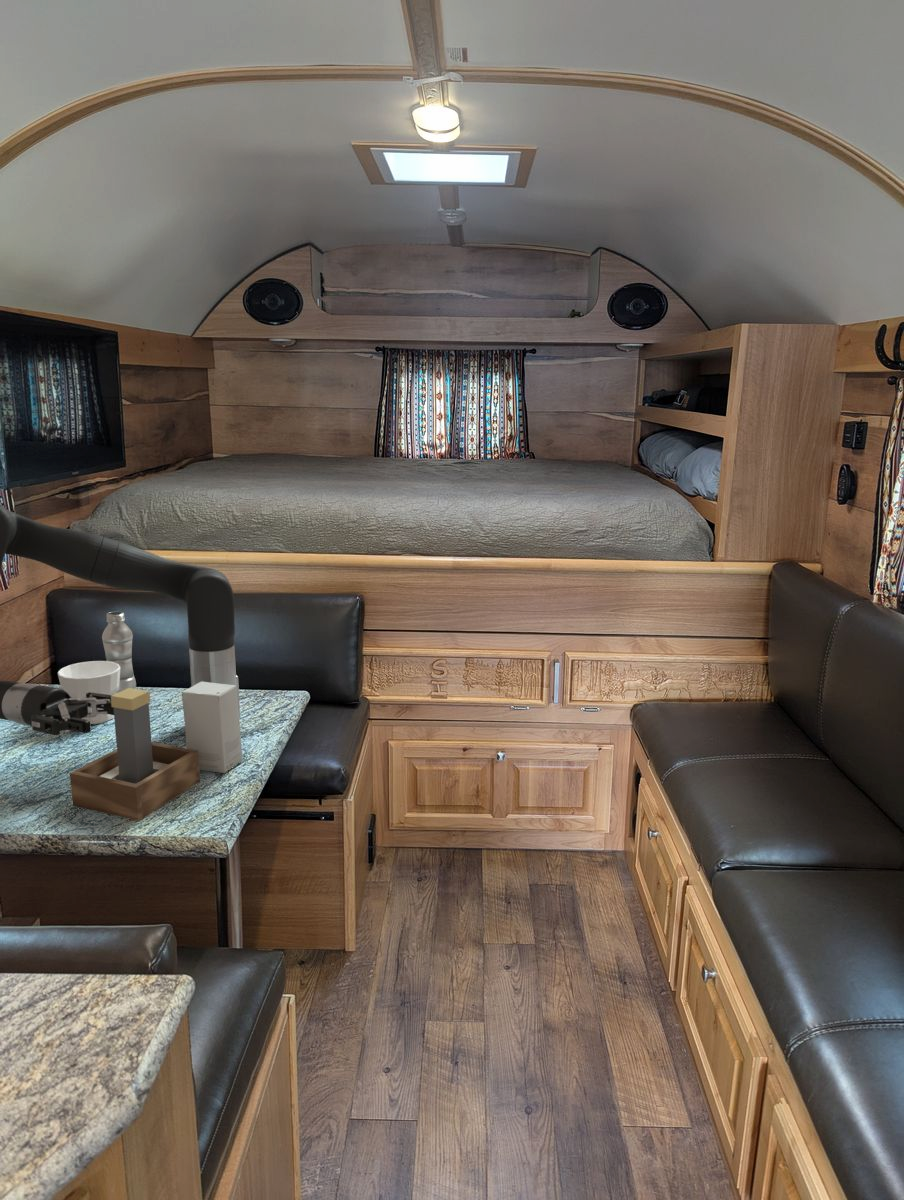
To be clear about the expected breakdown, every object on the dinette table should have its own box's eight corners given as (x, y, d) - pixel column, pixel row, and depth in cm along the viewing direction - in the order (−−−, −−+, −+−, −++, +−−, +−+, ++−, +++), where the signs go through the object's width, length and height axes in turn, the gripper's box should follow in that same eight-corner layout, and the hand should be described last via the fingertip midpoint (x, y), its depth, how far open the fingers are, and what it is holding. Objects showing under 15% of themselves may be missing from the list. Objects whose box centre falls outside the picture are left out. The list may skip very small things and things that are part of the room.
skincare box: (243, 761, 161) (239, 684, 158) (223, 775, 155) (219, 696, 152) (206, 755, 164) (202, 679, 160) (185, 768, 158) (180, 690, 154)
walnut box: (138, 769, 157) (136, 739, 156) (200, 781, 152) (198, 751, 151) (72, 805, 143) (69, 773, 141) (138, 821, 138) (136, 787, 136)
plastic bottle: (105, 693, 197) (98, 611, 192) (136, 690, 200) (130, 609, 195) (106, 702, 191) (99, 618, 187) (138, 699, 194) (131, 615, 189)
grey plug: (136, 783, 150) (129, 687, 146) (156, 787, 149) (149, 691, 145) (118, 793, 146) (110, 695, 142) (139, 797, 145) (131, 699, 141)
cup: (53, 716, 182) (49, 668, 180) (111, 703, 191) (107, 657, 188) (73, 733, 174) (68, 682, 171) (133, 719, 182) (129, 670, 179)
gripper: (1, 698, 145) (74, 711, 139) (65, 674, 158) (134, 685, 152) (5, 739, 146) (78, 753, 141) (68, 712, 159) (137, 724, 154)
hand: (107, 718), depth 146 cm, fingers open, 8 cm apart
